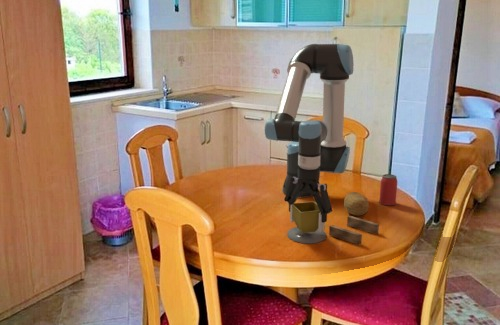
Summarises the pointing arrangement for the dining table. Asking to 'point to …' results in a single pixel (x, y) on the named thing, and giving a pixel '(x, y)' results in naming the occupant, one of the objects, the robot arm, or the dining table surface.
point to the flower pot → (306, 216)
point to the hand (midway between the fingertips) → (307, 225)
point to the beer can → (388, 190)
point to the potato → (356, 203)
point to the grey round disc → (306, 236)
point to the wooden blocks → (351, 235)
